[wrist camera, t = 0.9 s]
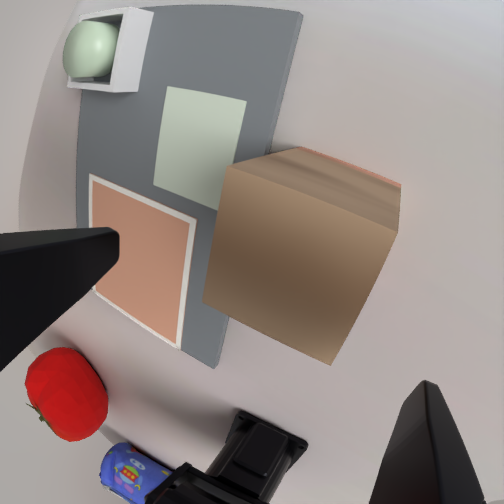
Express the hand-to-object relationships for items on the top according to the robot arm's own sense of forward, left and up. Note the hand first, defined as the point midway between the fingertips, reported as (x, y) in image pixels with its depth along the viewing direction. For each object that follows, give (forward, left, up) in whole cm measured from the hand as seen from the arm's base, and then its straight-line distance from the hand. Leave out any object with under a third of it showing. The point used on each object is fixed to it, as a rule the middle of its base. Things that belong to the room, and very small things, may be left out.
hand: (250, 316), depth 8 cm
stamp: (0, 0, -9) cm, 9 cm away
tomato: (-31, +21, -9) cm, 38 cm away
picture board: (-2, +12, -9) cm, 15 cm away
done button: (+6, +15, -7) cm, 18 cm away
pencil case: (-45, +6, -10) cm, 46 cm away
